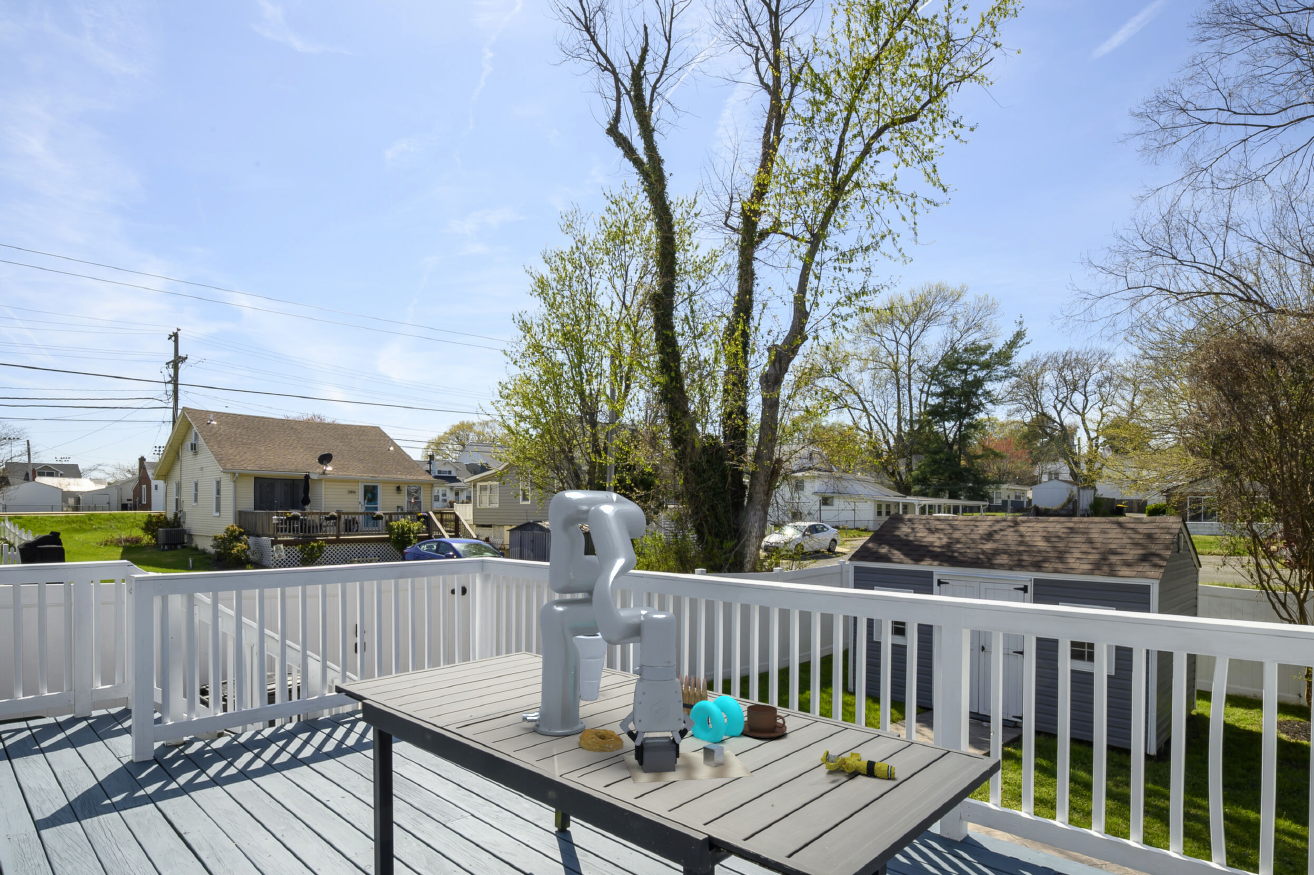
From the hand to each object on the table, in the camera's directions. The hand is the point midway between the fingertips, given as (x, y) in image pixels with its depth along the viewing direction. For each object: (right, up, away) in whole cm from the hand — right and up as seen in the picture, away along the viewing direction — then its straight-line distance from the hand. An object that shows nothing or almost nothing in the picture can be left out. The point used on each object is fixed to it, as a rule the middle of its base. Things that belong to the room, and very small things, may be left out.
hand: (656, 761), depth 146 cm
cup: (-20, -10, +61) cm, 65 cm away
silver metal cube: (+12, -1, +2) cm, 12 cm away
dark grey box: (0, -1, 0) cm, 1 cm away
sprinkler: (+42, -4, +3) cm, 43 cm away
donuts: (+14, -5, +21) cm, 26 cm away
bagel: (-12, -4, +14) cm, 19 cm away
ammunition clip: (+8, -7, +37) cm, 38 cm away
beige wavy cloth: (+6, -3, +1) cm, 7 cm away
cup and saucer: (+26, -7, +29) cm, 39 cm away
